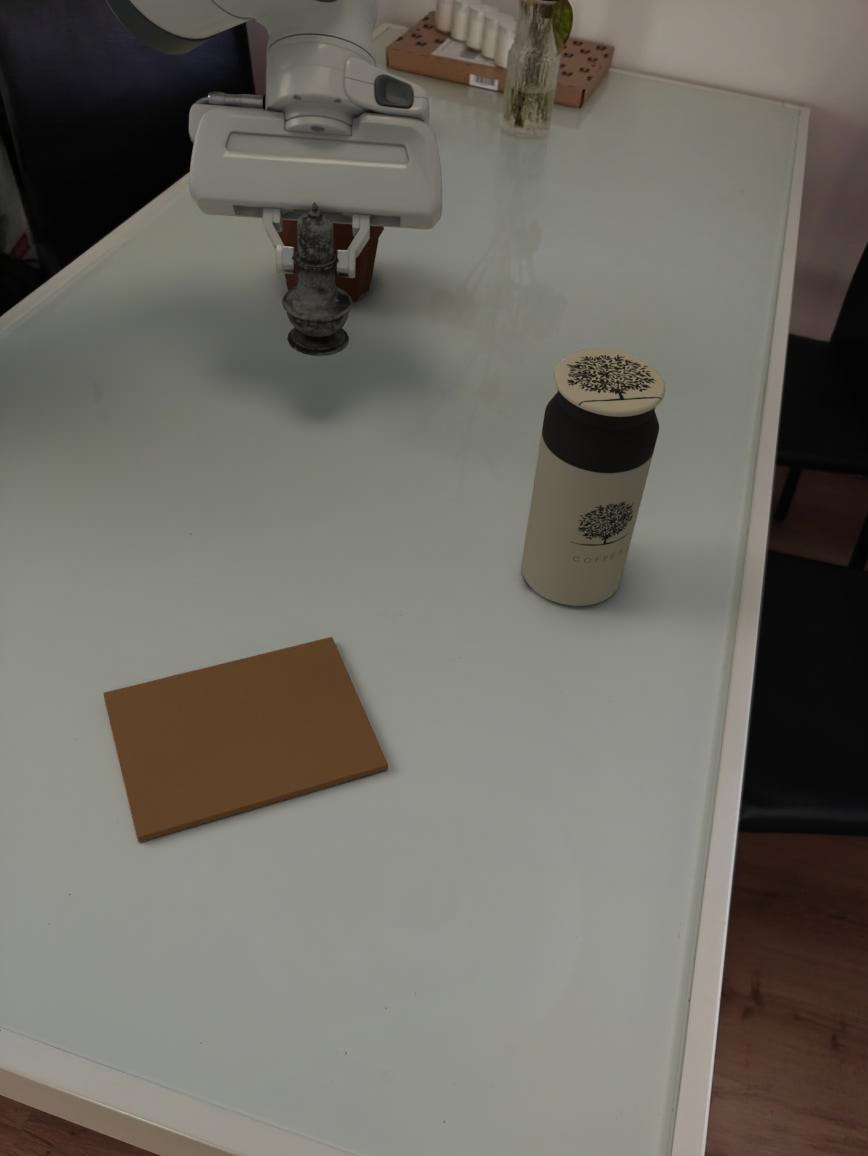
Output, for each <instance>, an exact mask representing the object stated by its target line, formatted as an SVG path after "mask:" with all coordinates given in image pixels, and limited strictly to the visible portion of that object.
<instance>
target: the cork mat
mask: <svg viewBox="0 0 868 1156" xmlns="http://www.w3.org/2000/svg"><path fill="white" fill-rule="evenodd" d="M103 699H104V702H105V706H106V711H107V715H108V719H109V724H110V726H111V732H112V736H113V741H114V744H115V749H116V754H117V758H118V763H119V766H120V770H121V774H122V779H123V783H124V787H125V792H126V796H127V800H128V801H127V802H128V804H129V807H130V808H129V809H130V813H131V817H132V821H133V825H134V830H135V834H136V838H137V842H138V843H143V842H145V841H149V840H152V839H156V838H159V837H164V836H166V835H169V834H172V833H177V832H180V831H184V830H186V829H187V830H188V829H190V828H193V827H197V826H200V825H204V824H207V823H211V822H214V821H217V820H221V819H223V818H227V817H230V816H231V817H232V816H234V815H235V816H236V815H238V814H242V813H244V812H248V811H251V810H255V809H258V808H261V807H265V806H268V805H272V804H275V803H279V802H282V801H286V800H289V799H292V798H296V797H298V796H302V795H306V794H310V793H313V792H316V791H319V790H323V789H326V787H327V788H330V787H334V786H337V785H339V784H343V783H347V782H351V781H353V780H357V779H360V778H364V777H367V776H371V775H375V774H378V773H381V772H384V771H387V770H388V769H389V764H388V761H387V759H386V757H385V754H384V751H383V750H382V747H381V745H380V743H379V741H378V739H377V736H376V733H375V731H374V730H373V727H372V725H371V722H370V720H369V717H368V715H367V713H366V710H365V709H364V707H363V703H362V701H361V699H360V697H359V695H358V692H357V690H356V688H355V686H354V683H353V681H352V679H351V677H350V674H349V672H348V669H347V667H346V665H345V662H344V661H343V658H342V656H341V653H340V651H339V649H338V647H337V645H336V643H335V640H334V638H333V636H329V637H326V638H321V639H317V640H314V641H310V642H305V643H301V644H297V645H293V646H289V647H285V648H281V649H277V650H272V651H269V652H265V653H260V654H255V655H252V656H247V657H244V658H240V659H236V660H232V661H227V662H224V663H219V664H215V665H211V666H207V667H202V668H199V669H194V670H190V671H187V672H183V673H178V674H174V675H170V676H167V677H162V678H159V679H154V680H149V681H146V682H142V683H138V684H133V685H130V686H125V687H121V688H117V689H113V690H109V691H106V692H103ZM377 772H378V773H377ZM370 774H371V775H370ZM336 784H337V785H336ZM329 786H330V787H329Z"/></svg>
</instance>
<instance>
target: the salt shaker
mask: <svg viewBox="0 0 868 1156" xmlns="http://www.w3.org/2000/svg"><path fill="white" fill-rule="evenodd" d="M310 208H311V209H312V211H310V212H307V213H305V214H303V215H302V216H301V217H300V218H299V219H298V223H297V239H298V252H297V253H296V254H295V257H294V262H295V263H296V264H297V265H298V285H297V287H294V288H292V289H290V290H289V291H288V290H287V291H286V292H285V293H284V295H283V296H282V299H281V305H282V308H283V309H284V310H285V313H286V315H287V318H288V320H289V322H290V324H291V325H292V326H293V328H291V329H290V330H289V331H288V333H287V337H286V340H287V344H288V345H289V346H290V347H291V349H293V350H295V351H296V352H298V353H301V354H303V355H306V356H312V357H325V356H326V357H327V356H333V355H336V354H338V353H340V352H342V351H344V350H345V349H346V348H347V347H348V345H349V344H350V336H349V334H348V332H347V331H346V330H345V329H344V328H343V327H344V326H345V324H346V322H347V320H348V317H349V313H350V311H351V310H352V308H353V302H352V299H351V297H350V296H349V295H348V294H347V293H346V292H345V291H343V290H341V289H340V288H337V287H336V283H335V265H336V264H337V263H338V260H337V255H336V254H335V253H334V247H333V223H332V220H331V219H330V218H329V217H328V216H327V215H326V214H324V213H322V212H319V211H317V210H318V209H319V207H318V206H317V204H316V203H315V202H314V203H313V204H312V206H311V207H310Z"/></svg>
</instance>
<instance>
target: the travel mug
mask: <svg viewBox="0 0 868 1156" xmlns="http://www.w3.org/2000/svg"><path fill="white" fill-rule="evenodd" d="M554 369H555V370H554V374H553V379H554V385H555V387H556V388H557V392H556V393H555V394H554V396H553V397H552V398H551V399H549V401H548V403H547V405H546V406H545V410H544V415H543V421H542V428H541V433H540V440H539V448H538V454H537V459H536V467H535V474H534V479H533V487H532V494H531V500H530V505H529V513H528V519H527V524H526V532H525V538H524V544H523V545H524V546H523V551H522V557H521V567H520V568H521V573H522V576H523V578H524V581H526V583H527V584H528V586H529V587H530V588H531V589H532V590H533V591H535V592H536V593H537V594H538V595H540V596H541V597H543V598H545V599H547V600H549V601H551V602H554V603H556V604H561V605H566V606H573V607H584V606H591V605H595V604H598V603H602V602H604V601H606V600H607V599H609V598H610V597H612V596H613V595H614V594H615V593H616V592H617V590H618V589H619V587H620V584H621V581H622V577H623V574H624V571H625V565H626V562H627V557H628V554H629V550H630V546H631V543H632V538H633V535H634V530H635V526H636V522H637V519H638V514H639V511H640V508H641V507H640V506H641V504H642V499H643V495H644V491H645V487H646V484H647V479H648V476H649V473H650V467H651V464H652V460H653V456H654V452H655V448H656V444H657V440H658V437H659V432H660V422H659V420H658V416H657V414H656V408H657V406H659V405H660V404H661V402H662V401H663V400H664V397H665V396H666V384H665V383H666V382H665V380H664V378H663V376H662V374H661V373H660V372H659V371H658V370H657V369H656V368H655V367H654V366H653V365H651V364H650V363H649V362H647V361H646V360H644V359H642V358H640V357H638V356H636V355H633V354H631V353H628V352H624V351H620V350H614V349H606V348H593V349H591V348H590V349H585V350H584V349H583V350H580V351H576V352H574V353H571V354H569V355H567V356H566V357H564V358H563V359H561V360H560V362H559V363H558V364H557V365H556V367H555V368H554Z"/></svg>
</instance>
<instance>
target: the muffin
mask: <svg viewBox="0 0 868 1156" xmlns="http://www.w3.org/2000/svg"><path fill="white" fill-rule="evenodd" d="M297 223H298V221H295V220H283V229H282V232H277V233H278V235H279V237H280V238H281V240H282V242H283V244H284V246H290V247H294V248H295V252H296V253H297V252H298V239H297ZM384 231H385V227H382V226H370V238H369V240H368V242H367V243H366V245H365V246H364V248H363V249H362V251H361V253H360V254H359V256H358V257H357V258H356V267H355V278H347V277H337V264H336V265H335V283H336V287H337V288H340V289H341V290H343V291H345V292H346V293H347V294H348V295H349V296H350V297H351V299H352V303H357V302H358V301H359V300H360V299H361V298H362V297H363V296H364V295H366V294H367V293H369V292H370V290H371V286H372V279H373V275H374V267H375V263H376V256H377V252H378V245H379V239H380V237H381V235H382V234H383V232H384ZM354 238H355V237H354V236H353V229H352V224H338V223H333V247H334V253H335V254H336V255H337V250H347V249H348V248H349V246H350V244H351V243H352V241H353V239H354ZM295 267H296V272H295V274H284V278H285V282H286V286H287V287H286V288H287V291H289V290H290V289H292V288H294V287H297V285H298V265H297V264H296V263H295Z"/></svg>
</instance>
